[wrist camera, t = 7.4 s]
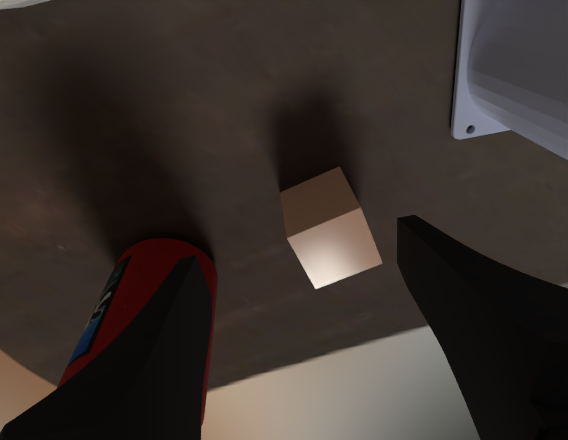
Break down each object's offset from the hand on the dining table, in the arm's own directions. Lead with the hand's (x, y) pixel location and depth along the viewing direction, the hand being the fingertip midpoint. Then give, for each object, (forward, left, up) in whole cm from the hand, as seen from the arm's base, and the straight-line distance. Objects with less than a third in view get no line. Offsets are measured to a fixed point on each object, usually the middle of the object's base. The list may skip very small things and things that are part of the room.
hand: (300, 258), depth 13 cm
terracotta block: (-2, +4, -10) cm, 11 cm away
